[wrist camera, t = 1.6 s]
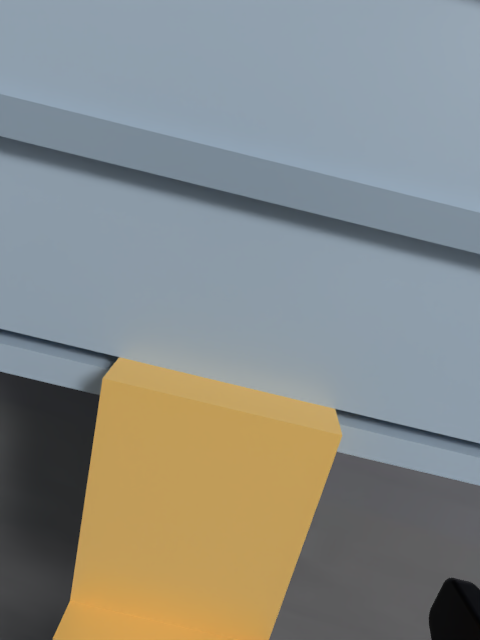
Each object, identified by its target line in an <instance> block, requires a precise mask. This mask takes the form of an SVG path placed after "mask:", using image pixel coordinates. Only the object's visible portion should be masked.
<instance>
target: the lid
mask: <svg viewBox="0 0 480 640" xmlns="http://www.w3.org/2000/svg"><path fill="white" fill-rule="evenodd" d="M0 372H4V373H9V374H13V375H17V376H21V377H25V378H30V379H34V380H38V381H42V382H46V383H51V384H55V385H59V386H63V387H67V388H72V389H76V390H80V391H84V392H88V393H93V394H97V395H100V399H99V406H98V413H97V420H96V427H95V433H94V440H93V447H92V454H91V461H90V468H89V474H88V481H87V488H86V495H85V502H84V509H83V515H82V522H81V529H80V536H79V543H78V550H77V556H76V563H75V570H74V577H73V584H72V591H71V598H70V602H69V604H68V606H67V609H66V611H65V613H64V615H63V617H62V619H61V622H60V624H59V626H58V628H57V630H56V633H55V635H54V637H53V640H269V638H270V635H271V632H272V629H273V627H274V624H275V621H276V618H277V616H278V613H279V610H280V607H281V604H282V602H283V599H284V596H285V593H286V591H287V588H288V585H289V582H290V580H291V577H292V574H293V571H294V568H295V566H296V563H297V560H298V557H299V555H300V552H301V549H302V546H303V544H304V541H305V538H306V535H307V532H308V530H309V527H310V524H311V521H312V519H313V516H314V513H315V510H316V507H317V505H318V502H319V499H320V496H321V494H322V491H323V488H324V485H325V483H326V480H327V477H328V474H329V471H330V469H331V466H332V463H333V460H334V458H335V455H336V452H341V453H345V454H349V455H353V456H358V457H362V458H366V459H370V460H374V461H379V462H383V463H387V464H391V465H395V466H400V467H404V468H408V469H412V470H416V471H421V472H425V473H429V474H433V475H437V476H442V477H446V478H450V479H454V480H458V481H463V482H467V483H471V484H475V485H479V486H480V0H0Z"/></svg>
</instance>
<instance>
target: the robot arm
mask: <svg viewBox="0 0 480 640" xmlns="http://www.w3.org/2000/svg"><path fill="white" fill-rule="evenodd" d="M429 627H430V633H431V639H432V640H480V590H479V588H478V587H476V586H475V585H474V584H473V583H471V582H468V581H464V580H460V579H455V578H448V579H447V580H446V581H445V582H444V584H443V586H442V588H441V590H440V591H439V593H438V595H437V597H436V599H435V601H434V603H433V605H432V607H431V610H430V614H429Z"/></svg>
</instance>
